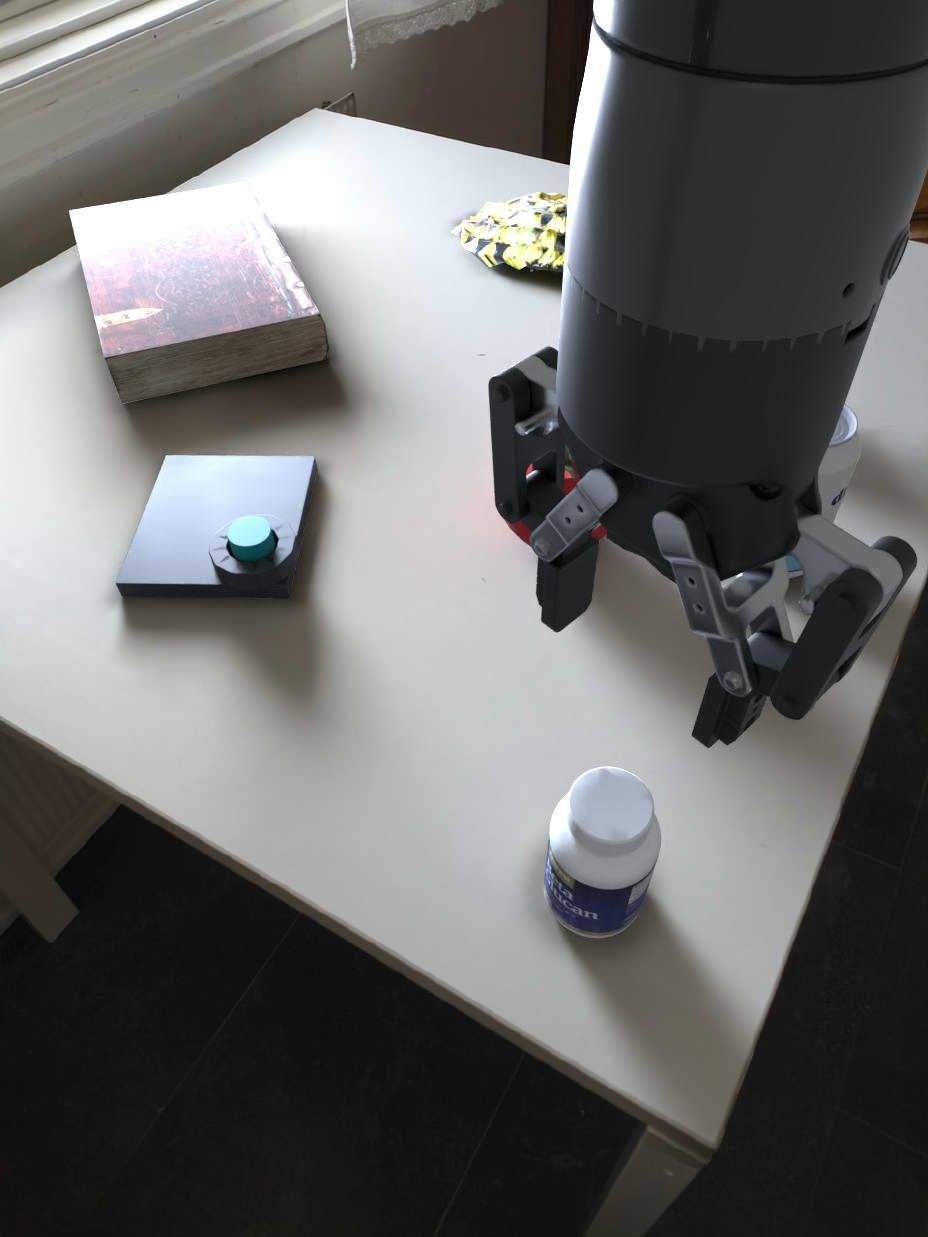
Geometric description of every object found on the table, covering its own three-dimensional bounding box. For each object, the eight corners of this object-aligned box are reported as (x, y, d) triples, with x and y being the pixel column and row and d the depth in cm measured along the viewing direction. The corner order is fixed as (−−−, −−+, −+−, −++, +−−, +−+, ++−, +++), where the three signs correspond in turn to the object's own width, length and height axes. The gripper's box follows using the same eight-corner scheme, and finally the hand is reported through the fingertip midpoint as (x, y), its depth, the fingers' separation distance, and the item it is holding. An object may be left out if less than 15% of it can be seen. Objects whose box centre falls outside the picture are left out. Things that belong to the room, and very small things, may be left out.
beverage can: (815, 596, 62) (870, 460, 53) (713, 578, 64) (750, 442, 55) (817, 529, 67) (869, 393, 57) (722, 513, 68) (758, 377, 59)
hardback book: (330, 358, 83) (322, 308, 79) (122, 407, 78) (104, 357, 75) (258, 222, 100) (248, 176, 97) (85, 257, 96) (69, 210, 92)
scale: (294, 604, 63) (287, 574, 61) (119, 601, 63) (105, 572, 61) (323, 469, 72) (318, 439, 70) (170, 468, 73) (160, 438, 71)
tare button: (271, 562, 62) (266, 546, 61) (227, 562, 62) (222, 546, 61) (278, 532, 64) (274, 516, 63) (236, 532, 64) (232, 516, 63)
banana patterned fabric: (424, 271, 94) (420, 202, 91) (494, 245, 106) (493, 184, 103) (605, 282, 86) (608, 207, 82) (659, 253, 98) (663, 187, 95)
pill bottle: (523, 904, 48) (529, 816, 41) (574, 829, 51) (588, 733, 44) (612, 962, 46) (635, 879, 39) (660, 880, 49) (690, 788, 42)
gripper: (406, 196, 23) (435, 619, 36) (928, 449, 16) (736, 865, 29) (601, 113, 26) (565, 527, 39) (1106, 294, 19) (863, 728, 32)
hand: (637, 669), depth 34 cm, fingers open, 6 cm apart
